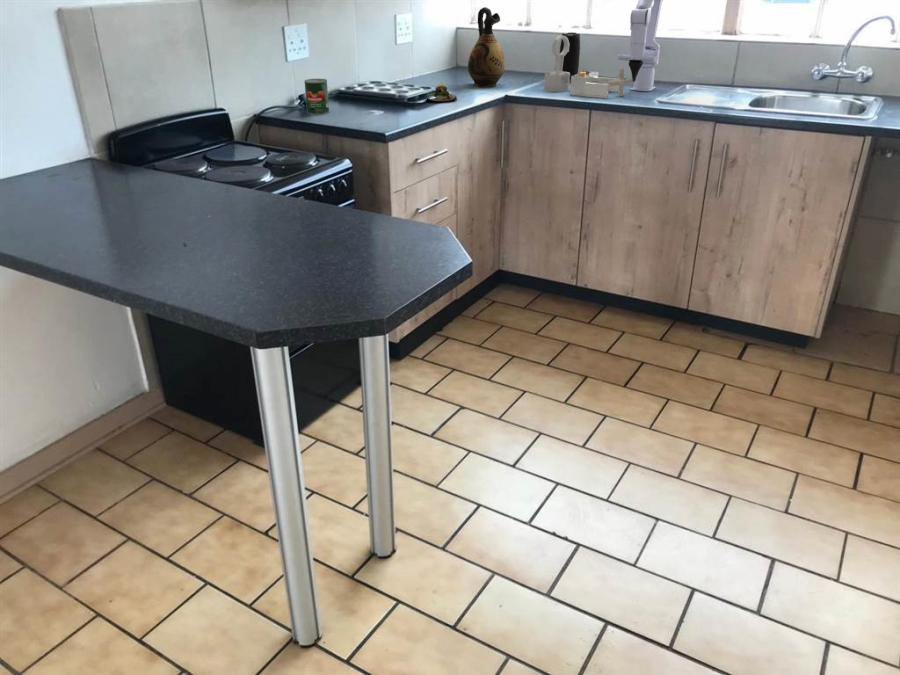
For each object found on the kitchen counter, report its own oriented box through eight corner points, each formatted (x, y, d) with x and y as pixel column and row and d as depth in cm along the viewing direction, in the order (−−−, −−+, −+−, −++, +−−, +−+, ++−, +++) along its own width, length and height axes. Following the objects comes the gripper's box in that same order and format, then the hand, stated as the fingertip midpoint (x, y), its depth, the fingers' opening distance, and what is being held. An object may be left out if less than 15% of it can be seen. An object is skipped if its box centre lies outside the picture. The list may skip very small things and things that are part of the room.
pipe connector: (633, 93, 294) (633, 66, 290) (635, 95, 285) (635, 68, 281) (607, 95, 296) (607, 68, 292) (609, 98, 287) (608, 70, 283)
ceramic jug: (511, 86, 312) (514, 8, 298) (482, 89, 304) (483, 10, 290) (487, 80, 324) (488, 5, 310) (458, 84, 316) (458, 7, 302)
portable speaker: (556, 81, 321) (559, 34, 312) (560, 78, 329) (563, 31, 320) (575, 82, 319) (578, 34, 310) (579, 79, 326) (582, 32, 317)
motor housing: (583, 88, 305) (584, 67, 301) (619, 91, 299) (621, 70, 295) (569, 95, 292) (570, 73, 289) (606, 98, 286) (608, 76, 282)
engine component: (539, 89, 304) (557, 92, 298) (541, 35, 295) (560, 37, 288) (556, 86, 311) (575, 89, 304) (560, 33, 301) (579, 35, 294)
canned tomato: (310, 115, 261) (307, 82, 256) (304, 111, 267) (301, 79, 262) (332, 113, 264) (329, 81, 258) (326, 109, 270) (323, 77, 265)
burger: (420, 102, 282) (420, 82, 278) (432, 97, 292) (432, 77, 288) (450, 104, 278) (450, 84, 274) (461, 99, 288) (461, 79, 284)
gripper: (615, 43, 280) (612, 81, 286) (654, 45, 274) (649, 83, 280) (621, 41, 285) (617, 78, 291) (659, 43, 279) (654, 81, 285)
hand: (633, 81), depth 286 cm, fingers closed, pressing on pipe connector
